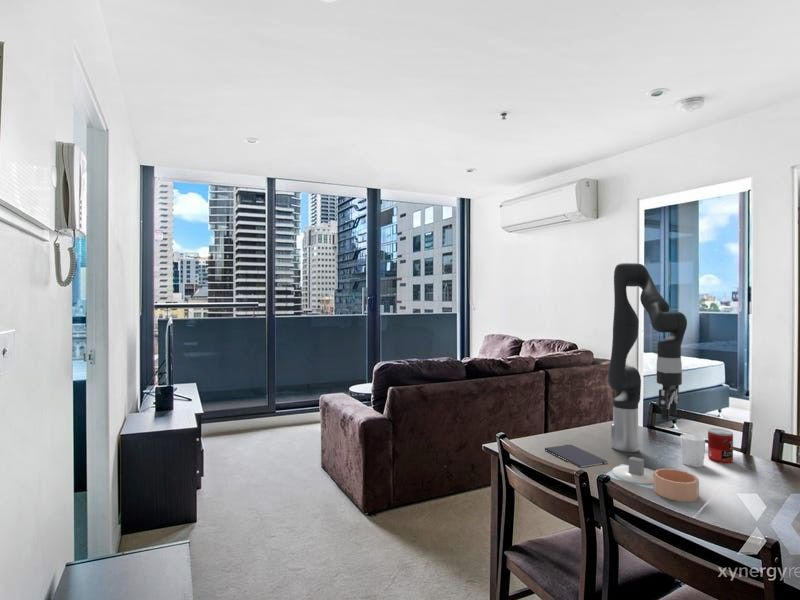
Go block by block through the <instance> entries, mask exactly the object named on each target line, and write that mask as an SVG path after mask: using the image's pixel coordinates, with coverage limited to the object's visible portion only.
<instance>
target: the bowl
mask: <svg viewBox="0 0 800 600" xmlns="http://www.w3.org/2000/svg"><path fill="white" fill-rule="evenodd" d="M653 471H654V472H653V488H654V489H653V490H654V492H655V494H657V495H659V496H661V498H662V497H663V498H664V499H669V500H671V501H677V502H694V501H697V500H698V499H699V496H700V479H699V478H698V476H696V475H695V474H693V473H691V472H688V471H685V470H680V469H675V468H666V467H665V468H658V469H656V470H653Z"/></svg>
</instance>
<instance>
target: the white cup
mask: <svg viewBox="0 0 800 600" xmlns="http://www.w3.org/2000/svg"><path fill="white" fill-rule="evenodd" d="M705 451H706V438H705V437H704V436H701V435H697V434H692V433H684V434H680V452H681V454H680V455H681V463H682V464H683V465H686V466H688V467H692V468H703V467H704V463H705V460H704V459H705V455H706V453H705Z"/></svg>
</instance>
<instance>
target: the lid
mask: <svg viewBox="0 0 800 600" xmlns="http://www.w3.org/2000/svg"><path fill="white" fill-rule="evenodd" d="M612 470H613V475H614V476H616V477H617V478H619V479H621V480H624V481H627V482H626V483H628V482H631V483H637V484H653V472H654V471H655V470H653V469H651V468H648V467H645V459H644V458H640V457H635V456H631V457H629V458H628V464H625V465H624V466H619V465H618V466H617V465H616V466H615V467H613V468H612ZM624 481H623V482H624ZM631 483H630V484H631Z"/></svg>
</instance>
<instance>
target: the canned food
mask: <svg viewBox="0 0 800 600" xmlns="http://www.w3.org/2000/svg"><path fill="white" fill-rule="evenodd" d="M707 456H708V457H707V458H708V459H709V460H711V461H712V462H715V463H720V464H732V463H733V460H734V432H733V431H730V430H727V429H725V428H719V427H718V428H716V427H715V428H711V427H710V428H708V429H707Z"/></svg>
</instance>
